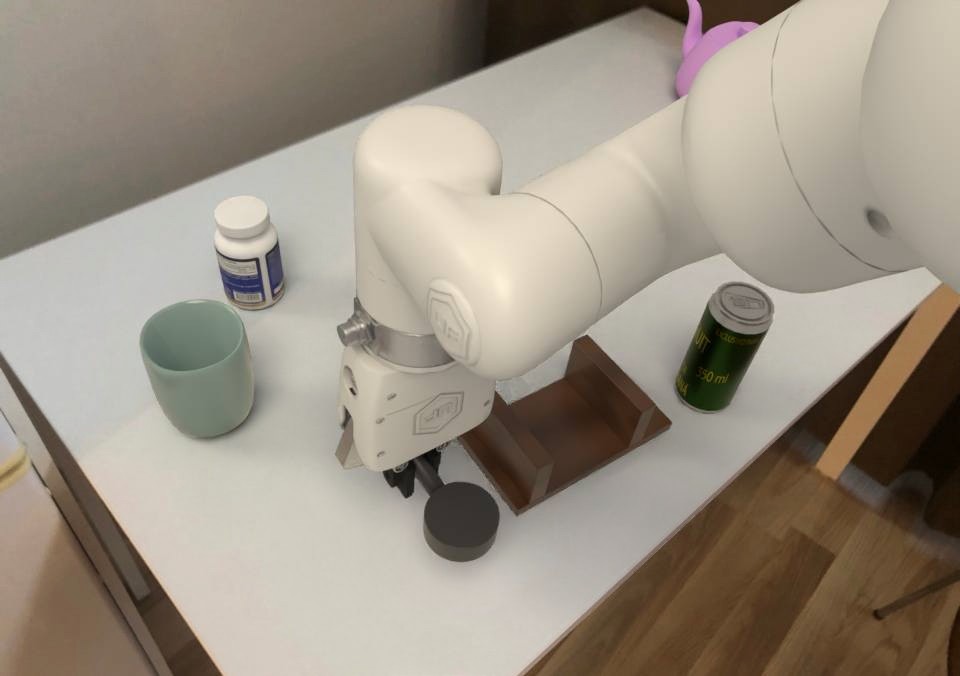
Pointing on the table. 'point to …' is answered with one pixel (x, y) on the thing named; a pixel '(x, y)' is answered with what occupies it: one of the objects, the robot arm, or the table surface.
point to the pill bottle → (248, 253)
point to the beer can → (724, 346)
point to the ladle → (456, 515)
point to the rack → (563, 429)
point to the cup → (199, 366)
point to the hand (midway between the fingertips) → (411, 476)
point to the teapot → (704, 44)
